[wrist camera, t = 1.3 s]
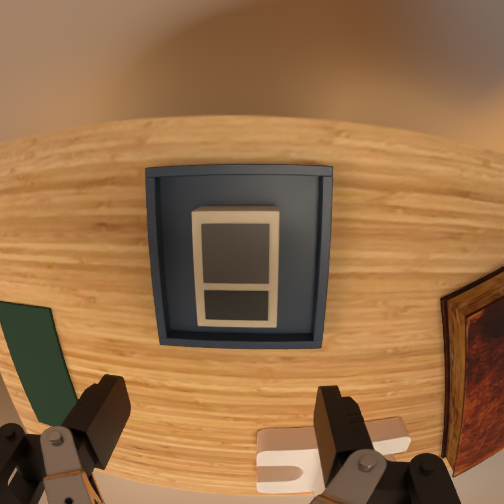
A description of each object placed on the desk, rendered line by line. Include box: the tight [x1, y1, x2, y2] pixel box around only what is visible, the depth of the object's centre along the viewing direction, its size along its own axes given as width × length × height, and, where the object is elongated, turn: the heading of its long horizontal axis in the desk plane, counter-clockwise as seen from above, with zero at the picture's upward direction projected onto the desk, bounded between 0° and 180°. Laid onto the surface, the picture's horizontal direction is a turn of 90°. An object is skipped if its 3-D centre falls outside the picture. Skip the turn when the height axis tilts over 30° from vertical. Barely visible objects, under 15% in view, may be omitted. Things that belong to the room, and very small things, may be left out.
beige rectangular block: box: [192, 205, 280, 327], centre depth 25 cm, size 9×6×4 cm
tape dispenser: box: [257, 417, 411, 498], centre depth 28 cm, size 10×18×11 cm, turn 91°
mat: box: [0, 301, 78, 426], centre depth 32 cm, size 20×10×1 cm, turn 0°
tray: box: [145, 164, 333, 349], centre depth 26 cm, size 16×15×2 cm
